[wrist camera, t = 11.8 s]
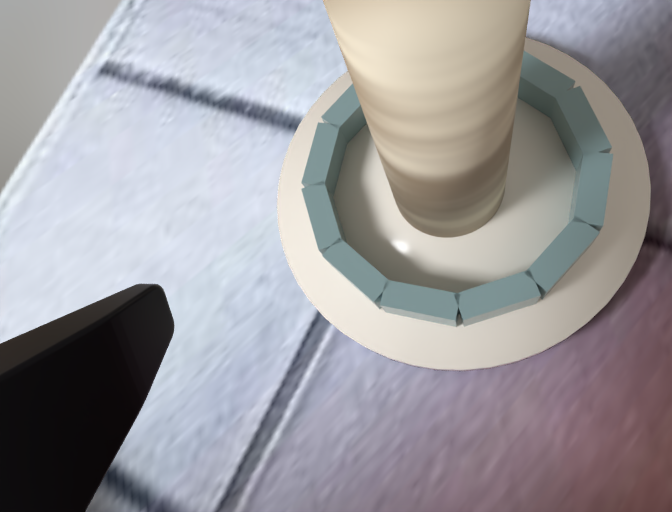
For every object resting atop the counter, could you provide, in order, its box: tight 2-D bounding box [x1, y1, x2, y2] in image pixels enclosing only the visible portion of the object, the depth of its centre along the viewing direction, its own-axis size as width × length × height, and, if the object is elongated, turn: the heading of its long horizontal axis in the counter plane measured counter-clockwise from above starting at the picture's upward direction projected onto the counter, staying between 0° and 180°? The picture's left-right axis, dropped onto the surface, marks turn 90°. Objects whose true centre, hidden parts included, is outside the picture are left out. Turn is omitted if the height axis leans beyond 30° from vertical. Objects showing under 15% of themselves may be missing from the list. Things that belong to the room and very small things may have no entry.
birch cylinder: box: [323, 0, 531, 238], centre depth 17 cm, size 4×4×12 cm
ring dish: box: [277, 37, 651, 371], centre depth 22 cm, size 15×15×2 cm
